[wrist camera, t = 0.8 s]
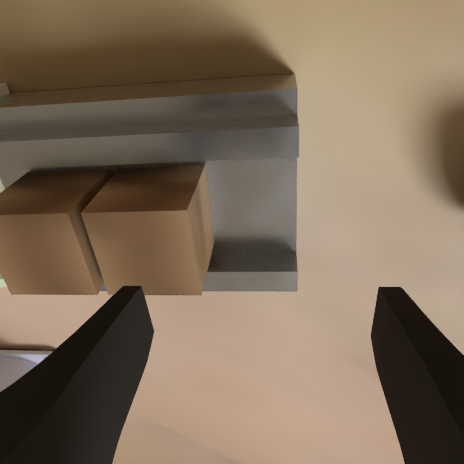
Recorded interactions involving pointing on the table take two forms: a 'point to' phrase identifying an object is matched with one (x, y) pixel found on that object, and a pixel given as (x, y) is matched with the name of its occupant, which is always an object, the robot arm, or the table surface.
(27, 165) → the rail
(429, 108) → the table surface
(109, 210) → the block
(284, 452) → the table surface
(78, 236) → the block
